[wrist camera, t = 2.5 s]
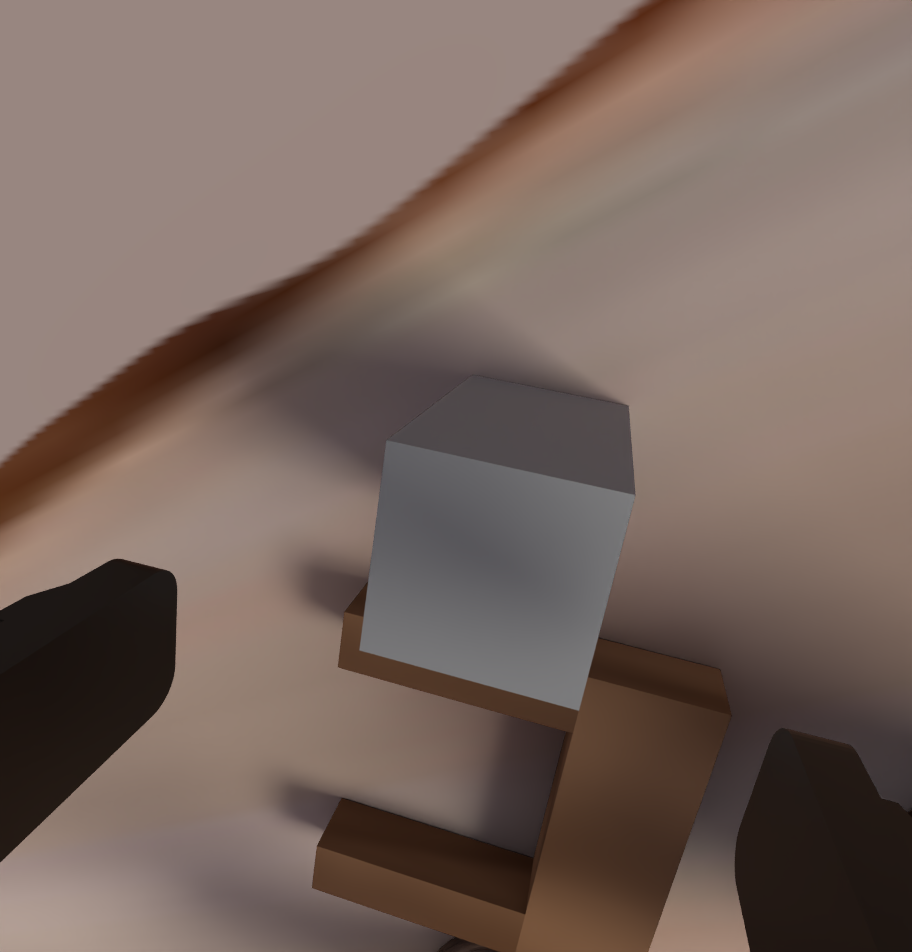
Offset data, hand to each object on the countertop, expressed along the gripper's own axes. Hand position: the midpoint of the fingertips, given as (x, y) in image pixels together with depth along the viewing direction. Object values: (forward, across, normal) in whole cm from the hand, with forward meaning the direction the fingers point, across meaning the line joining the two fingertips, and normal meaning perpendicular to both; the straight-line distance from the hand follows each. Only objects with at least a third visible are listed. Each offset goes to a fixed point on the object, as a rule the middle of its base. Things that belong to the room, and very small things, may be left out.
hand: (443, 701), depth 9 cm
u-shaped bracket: (+10, -1, +9) cm, 13 cm away
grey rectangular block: (+10, 0, -1) cm, 10 cm away
